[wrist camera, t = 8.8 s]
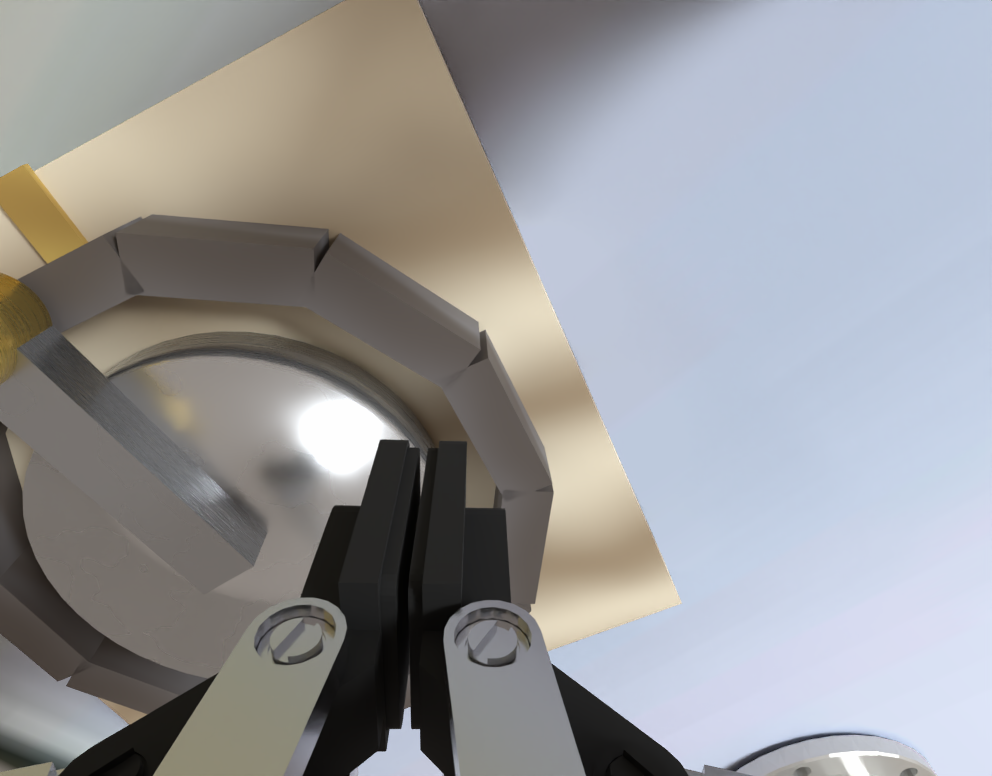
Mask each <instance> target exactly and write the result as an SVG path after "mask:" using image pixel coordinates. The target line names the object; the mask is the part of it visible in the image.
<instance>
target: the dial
mask: <svg viewBox="0 0 992 776" xmlns="http://www.w3.org/2000/svg"><path fill="white" fill-rule="evenodd" d="M0 421H1V422H2V423H3V424H4V425H5V426H7V427H8V428H9V429H10V430H11V431H12V432H14V433H15V434H16V435H17V436H18V437H19V438H21V439H22V440H23V441H24V442H25V443H26V444H28V445H29V446H30V447H31V448H32V449H34V451H33V454H32V456H31V459H30V462H29V465H28V467H27V470H26V474H25V481H24V487H23V517H24V522H25V527H26V531H27V536H28V539H29V542H30V544H31V547H32V550H33V552H34V555H35V557H36V559H37V561H38V563H39V565H40V567H41V568H42V570H43V572H44V574H45V575H46V577H47V579H48V580H49V581H50V583H51V584H52V585H53V587H54V588H55V589H56V591H57V592H58V593H59V595H60V596H61V597H62V598H63V599H64V600H65V601H66V602H67V604H68V605H69V606H70V607H71V608H72V609H73V610H74V611H75V612H76V613H77V614H78V615H79V616H81V617H82V618H83V619H84V620H85V621H87V622H88V623H89V624H90V625H91V626H93V627H94V628H95V629H96V630H98V631H99V632H100V633H102V634H103V635H105V636H106V637H108V638H109V639H111V640H112V641H114V642H115V643H117V644H119V645H120V646H122V647H124V648H126V649H128V650H130V651H132V652H133V653H135V654H137V655H139V656H141V657H144V658H146V659H148V660H151V661H153V662H155V663H158V664H160V665H162V666H165V667H168V668H171V669H174V670H177V671H180V672H184V673H187V674H191V675H195V676H200V677H204V678H210V677H212V676H214V675H215V674H217V673H219V671H220V670H221V668H222V667H223V665H224V664H225V662H226V661H227V659H228V657H229V656H230V654H231V653H232V651H233V650H234V648H235V646H236V645H237V643H238V642H239V640H240V639H241V637H242V635H243V634H244V632H245V631H246V629H247V628H248V626H249V625H250V624H251V623H252V622H253V621H254V619H255V618H256V617H257V616H258V615H260V614H261V613H262V612H264V611H265V610H267V609H268V608H269V607H271V606H274V605H276V604H278V603H281V602H283V601H286V600H291V599H296V598H300V596H301V593H302V590H303V588H304V585H305V582H306V579H307V577H308V574H309V571H310V568H311V565H312V563H313V560H314V557H315V554H316V552H317V549H318V546H319V543H320V540H321V538H322V535H323V532H324V529H325V527H326V524H327V521H328V518H329V515H330V513H331V510H332V508H333V507H334V506H335V505H353V506H361V503H362V499H363V496H364V493H365V489H366V486H367V482H368V479H369V475H370V472H371V469H372V465H373V462H374V458H375V455H376V451H377V448H378V445H379V441H380V440H381V439H387V440H409V443H410V447H415V448H420V482H421V492H422V485H423V478H424V472H425V465H426V458H427V451H428V448H435V446H434V444H433V442H432V440H431V438H430V436H429V434H428V432H427V431H426V429H425V428H424V427H423V425H422V424H421V422H420V421H419V419H418V418H417V416H416V415H415V414H414V413H413V412H412V411H411V409H410V408H409V407H408V406H407V405H406V404H405V403H404V402H403V401H402V400H401V398H400V397H399V396H397V395H396V394H395V393H394V392H393V391H392V390H390V389H389V388H388V387H387V386H386V385H385V384H383V383H382V382H381V381H380V380H379V379H377V378H376V377H374V376H373V375H371V374H370V373H368V372H366V371H365V370H363V369H362V368H360V367H359V366H357V365H356V364H354V363H352V362H350V361H348V360H346V359H344V358H342V357H340V356H338V355H336V354H334V353H332V352H329V351H327V350H324V349H321V348H319V347H316V346H313V345H311V344H308V343H305V342H301V341H297V340H293V339H289V338H285V337H281V336H277V335H269V334H261V333H254V332H223V331H219V332H210V333H201V334H192V335H188V336H183V337H179V338H175V339H171V340H167V341H164V342H161V343H159V344H156V345H153V346H151V347H148V348H146V349H143V350H141V351H139V352H137V353H136V354H134V355H132V356H130V357H129V358H127V359H125V360H123V361H122V362H120V363H118V364H117V365H116V366H115V367H113V368H112V369H111V370H110V371H108V372H107V373H106V374H105V375H103V374H102V373H101V372H100V371H99V370H98V369H97V368H96V367H95V366H94V365H93V364H92V363H91V362H90V361H89V360H88V359H87V358H86V357H85V356H84V355H83V354H82V353H81V352H80V351H79V350H78V349H76V348H75V347H74V346H73V345H72V344H71V343H70V342H69V341H68V340H67V339H66V338H65V337H64V336H63V335H62V334H61V333H60V332H59V331H58V330H57V329H56V328H55V327H54V326H53V325H52V321H51V317H50V315H49V312H48V310H47V309H46V307H45V305H44V304H43V302H42V301H41V300H40V298H39V297H38V296H37V295H36V294H35V293H34V292H33V291H32V290H31V289H30V288H28V287H27V286H26V285H24V284H23V283H22V282H20V281H18V280H16V279H15V278H13V277H10V276H8V275H6V274H3V273H0Z"/></svg>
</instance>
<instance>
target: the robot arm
mask: <svg viewBox="0 0 992 776" xmlns="http://www.w3.org/2000/svg"><path fill="white" fill-rule="evenodd" d="M466 469H467V441H439V448H428V451H427V458H426V465H425V472H424V478H423V485H422V492H421V482H420V448H415V447H410V443H409V440H387V439H381V440H380V441H379V445H378V448H377V451H376V455H375V458H374V462H373V465H372V469H371V472H370V475H369V479H368V482H367V486H366V489H365V493H364V496H363V499H362V503H361V506H353V505H335V506H334V507H333V508H332V510H331V513H330V515H329V518H328V521H327V524H326V527H325V529H324V532H323V535H322V538H321V540H320V543H319V546H318V549H317V552H316V554H315V557H314V560H313V563H312V565H311V568H310V571H309V574H308V577H307V579H306V582H305V585H304V588H303V590H302V593H301V596H300V598H296V599H291V600H286V601H283V602H281V603H278V604H276V605H274V606H271V607H269V608H268V609H267V610H265V611H264V612H262V613H261V614H260V615H258V616H257V617H256V618H255V619H254V621H253V622H252V623H251V624H250V625H249V626H248V628H247V629H246V631H245V632H244V634H243V635H242V637H241V639H240V640H239V642H238V643H237V645H236V646H235V648H234V650H233V651H232V653H231V654H230V656H229V657H228V659H227V661H226V662H225V664H224V665H223V667H222V668H221V670H220V671H219V673H217V674H215V675H214V676H212V677H210V678H208V679H207V680H205V681H203V682H202V683H200V684H198V685H197V686H195V687H193V688H191V689H190V690H188V691H186V692H185V693H183V694H181V695H179V696H178V697H176V698H174V699H173V700H171V701H169V702H168V703H166V704H164V705H162V706H161V707H159V708H157V709H156V710H154V711H152V712H151V713H149V714H147V715H145V716H144V717H142V718H140V719H139V720H137V721H135V722H133V723H132V724H130V725H128V726H127V727H125V728H123V729H122V730H120V731H118V732H116V733H115V734H113V735H111V736H110V737H108V738H106V739H105V740H103V741H101V742H99V743H98V744H96V745H94V746H93V747H91V748H90V749H88V750H87V751H85V752H84V753H83V754H81V755H80V756H78V757H77V758H76V759H74V760H73V761H72V762H71V763H70V764H69V765H68V766H67V767H66V768H65V769H60V770H56V769H55V767H54V764H53V762H49V763H44V764H39V765H34V766H29V767H23V768H18V769H13V770H8V771H3V772H0V776H358V766H359V765H361V764H362V763H363V762H364V761H366V760H367V759H368V758H369V757H371V756H372V755H373V754H374V753H375V752H377V751H386V749H387V742H388V735H389V729H401V727H402V721H403V714H404V706H405V698H406V689H407V681H408V673H409V665H410V698H411V728H412V729H420V745H421V751H422V752H423V753H424V754H425V755H426V756H427V757H428V758H429V759H430V760H431V761H432V762H433V763H434V764H435V765H436V766H437V767H438V768H439V769H440V771H441V772H442V773H443V776H937V774H936V773H935V771H934V770H933V768H932V767H931V766H930V764H929V763H928V761H927V760H926V758H924V757H923V756H922V755H921V754H919V753H918V752H917V751H916V750H914V749H913V748H911V747H908V746H906V745H904V744H902V743H900V742H897V741H893V740H889V739H885V738H881V737H877V736H865V735H839V736H828V737H822V738H816V739H810V740H805V741H802V742H798V743H795V744H791V745H788V746H784V747H782V748H779V749H777V750H774V751H772V752H769V753H767V754H764V755H762V756H760V757H758V758H756V759H755V760H753V761H751V762H749V763H747V764H746V765H744V766H742V767H741V768H739V769H738V770H737V771H730V770H726V769H721V768H717V767H713V766H708V765H704V767H703V771H702V773H701V772H696V771H692V770H688V769H684V768H683V766H682V764H681V763H680V762H679V761H678V760H677V759H676V758H675V757H674V756H673V755H672V754H671V753H670V752H668V751H667V750H666V749H665V748H664V747H662V746H661V745H660V744H658V743H657V742H656V741H654V740H653V739H652V738H650V737H649V736H648V735H646V734H645V733H644V732H642V731H641V730H640V729H638V728H637V727H636V726H634V725H633V724H632V723H630V722H629V721H628V720H626V719H625V718H624V717H622V716H621V715H620V714H618V713H617V712H616V711H614V710H613V709H612V708H610V707H609V706H608V705H606V704H605V703H604V702H602V701H601V700H600V699H598V698H597V697H596V696H594V695H593V694H592V693H590V692H589V691H588V690H586V689H585V688H584V687H582V686H581V685H580V684H578V683H577V682H576V681H574V680H573V679H572V678H570V677H569V676H568V675H566V674H565V673H564V672H562V671H561V670H560V669H558V668H557V667H556V666H554V665H553V664H552V663H551V661H550V658H549V655H548V651H547V648H546V645H545V642H544V638H543V635H542V632H541V629H540V628H539V626H538V624H537V622H536V620H535V619H534V618H533V617H532V616H531V615H530V614H529V613H528V612H527V611H526V610H524V609H522V608H520V607H518V606H517V605H515V604H512V603H511V591H510V575H509V558H508V542H507V525H506V511H505V508H466Z"/></svg>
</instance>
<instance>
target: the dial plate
mask: <svg viewBox="0 0 992 776" xmlns="http://www.w3.org/2000/svg"><path fill="white" fill-rule="evenodd" d="M0 273H3V274H6V275H8V276H10V277H13V278H15V279H16V280H18V281H20V282H22V283H23V284H24V285H26V286H27V287H28V288H30V289H31V290H32V291H33V292H34V293H35V294H36V295H37V296H38V297H39V298H40V300H41V301H42V302H43V304H44V305H45V307H46V309H47V310H48V312H49V315H50V317H51V321H52V325H53V326H54V327H55V328H56V329H57V330H58V331H59V332H60V333H61V334H62V335H63V336H64V337H65V338H66V339H67V340H68V341H69V342H70V343H71V344H72V345H73V346H74V347H75V348H76V349H78V350H79V351H80V352H81V353H82V354H83V355H84V356H85V357H86V358H87V359H88V360H89V361H90V362H91V363H92V364H93V365H94V366H95V367H96V368H97V369H98V370H99V371H100V372H101V373H102V374H103V375H105V374H106V373H107V372H108V371H110V370H111V369H112V368H113V367H115V366H116V365H117V364H118V363H120V362H122V361H123V360H125V359H127V358H129V357H130V356H132V355H134V354H136V353H137V352H139V351H141V350H143V349H146V348H148V347H151V346H153V345H156V344H159V343H161V342H164V341H167V340H171V339H175V338H179V337H183V336H188V335H192V334H201V333H210V332H219V331H223V332H254V333H261V334H269V335H277V336H281V337H285V338H289V339H293V340H297V341H301V342H305V343H308V344H311V345H313V346H316V347H319V348H321V349H324V350H327V351H329V352H332V353H334V354H336V355H338V356H340V357H342V358H344V359H346V360H348V361H350V362H352V363H354V364H356V365H357V366H359V367H360V368H362V369H363V370H365V371H366V372H368V373H370V374H371V375H373V376H374V377H376V378H377V379H379V380H380V381H381V382H382V383H383V384H385V385H386V386H387V387H388V388H389V389H390V390H392V391H393V392H394V393H395V394H396V395H397V396H399V397H400V398H401V400H402V401H403V402H404V403H405V404H406V405H407V406H408V407H409V408H410V409H411V411H412V412H413V413H414V414H415V415H416V416H417V418H418V419H419V421H420V422H421V424H422V425H423V427H424V428H425V429H426V431H427V432H428V434H429V436H430V438H431V440H432V442H433V444H434V446H435V448H439V441H467V469H466V508H505V511H506V525H507V542H508V558H509V575H510V591H511V603H512V604H515V605H517V606H518V607H520V608H522V609H524V610H526V611H527V612H528V613H529V614H530V615H531V616H532V617H533V618H534V619H535V620H536V622H537V624H538V626H539V628H540V629H541V632H542V635H543V638H544V642H545V645H546V648H547V651H550V650H553V649H556V648H558V647H561V646H564V645H567V644H570V643H572V642H575V641H578V640H581V639H583V638H586V637H589V636H592V635H595V634H597V633H600V632H603V631H606V630H609V629H611V628H614V627H617V626H620V625H623V624H625V623H628V622H631V621H634V620H637V619H639V618H642V617H645V616H648V615H651V614H653V613H656V612H659V611H662V610H665V609H667V608H670V607H673V606H676V605H679V604H681V600H680V598H679V596H678V593H677V591H676V588H675V586H674V583H673V581H672V579H671V576H670V574H669V571H668V569H667V566H666V564H665V562H664V560H663V557H662V555H661V553H660V550H659V548H658V546H657V544H656V541H655V539H654V537H653V534H652V532H651V530H650V528H649V525H648V523H647V521H646V519H645V516H644V514H643V512H642V509H641V507H640V505H639V503H638V500H637V498H636V496H635V493H634V491H633V489H632V487H631V484H630V482H629V480H628V477H627V475H626V473H625V471H624V468H623V466H622V464H621V462H620V459H619V457H618V455H617V452H616V450H615V448H614V446H613V443H612V441H611V439H610V436H609V434H608V432H607V430H606V427H605V425H604V423H603V421H602V418H601V416H600V414H599V411H598V409H597V407H596V405H595V402H594V400H593V398H592V395H591V393H590V391H589V389H588V386H587V384H586V382H585V379H584V377H583V375H582V373H581V370H580V368H579V366H578V364H577V361H576V359H575V357H574V354H573V352H572V350H571V348H570V345H569V343H568V341H567V338H566V336H565V334H564V332H563V329H562V327H561V325H560V323H559V320H558V318H557V316H556V313H555V311H554V309H553V307H552V304H551V302H550V300H549V297H548V295H547V293H546V291H545V288H544V286H543V284H542V281H541V279H540V277H539V275H538V272H537V270H536V268H535V266H534V263H533V261H532V259H531V256H530V254H529V252H528V250H527V247H526V245H525V243H524V240H523V238H522V236H521V234H520V231H519V229H518V227H517V224H516V222H515V220H514V218H513V215H512V213H511V211H510V209H509V206H508V204H507V202H506V199H505V197H504V195H503V193H502V190H501V188H500V186H499V183H498V181H497V179H496V177H495V174H494V172H493V170H492V168H491V165H490V163H489V161H488V158H487V156H486V154H485V152H484V149H483V147H482V145H481V142H480V140H479V138H478V136H477V133H476V131H475V129H474V126H473V124H472V122H471V120H470V117H469V115H468V113H467V111H466V108H465V106H464V104H463V101H462V99H461V97H460V95H459V92H458V90H457V88H456V85H455V83H454V81H453V79H452V76H451V74H450V72H449V70H448V67H447V65H446V63H445V60H444V58H443V56H442V54H441V51H440V49H439V47H438V44H437V42H436V40H435V38H434V35H433V33H432V31H431V28H430V26H429V24H428V22H427V19H426V17H425V15H424V13H423V10H422V8H421V6H420V3H419V1H418V0H345V1H343V2H341V3H339V4H337V5H335V6H334V7H332V8H330V9H328V10H326V11H325V12H323V13H321V14H319V15H317V16H315V17H314V18H312V19H310V20H308V21H306V22H305V23H303V24H301V25H299V26H297V27H295V28H294V29H292V30H290V31H288V32H286V33H285V34H283V35H281V36H279V37H277V38H275V39H274V40H272V41H270V42H268V43H266V44H265V45H263V46H261V47H259V48H257V49H255V50H254V51H252V52H250V53H248V54H246V55H245V56H243V57H241V58H239V59H237V60H235V61H234V62H232V63H230V64H228V65H226V66H225V67H223V68H221V69H219V70H217V71H215V72H214V73H212V74H210V75H208V76H206V77H205V78H203V79H201V80H199V81H197V82H195V83H194V84H192V85H190V86H188V87H186V88H185V89H183V90H181V91H179V92H177V93H175V94H174V95H172V96H170V97H168V98H166V99H165V100H163V101H161V102H159V103H157V104H155V105H154V106H152V107H150V108H148V109H146V110H145V111H143V112H141V113H139V114H137V115H135V116H134V117H132V118H130V119H128V120H126V121H125V122H123V123H121V124H119V125H117V126H115V127H114V128H112V129H110V130H108V131H106V132H105V133H103V134H101V135H99V136H97V137H95V138H94V139H92V140H90V141H88V142H86V143H85V144H83V145H81V146H79V147H77V148H75V149H74V150H72V151H70V152H68V153H66V154H65V155H63V156H61V157H59V158H57V159H55V160H54V161H52V162H50V163H48V164H46V165H45V166H43V167H41V168H39V169H37V170H35V171H33V170H32V169H31V167H30V166H29V165H28V164H25V165H22V166H20V167H18V168H17V169H15V170H13V171H11V172H9V173H8V174H6V175H4V176H2V177H0ZM33 451H34V449H32V448H31V447H30V446H29V445H28V444H26V443H25V442H24V441H23V440H22V439H21V438H19V437H18V436H17V435H16V434H15V433H14V432H12V431H11V430H10V429H9V428H8V427H7V426H5V425H4V424H3V423H2V422H1V421H0V634H2V635H3V636H4V637H5V638H6V639H8V640H9V641H10V642H11V643H12V644H14V645H15V646H16V647H17V648H18V649H20V650H21V651H22V652H23V653H24V654H26V655H27V656H28V657H29V658H30V659H32V660H33V661H34V662H35V663H36V664H37V665H39V666H40V667H41V668H42V669H43V670H45V671H46V672H47V673H48V674H49V675H51V676H52V677H53V678H54V679H55V680H57V681H60V680H62V679H65V678H67V677H70V676H72V677H71V678H70V680H69V682H68V683H67V685H66V686H67V687H70V688H73V689H76V690H79V691H82V692H85V693H88V694H90V695H93V696H96V697H98V698H99V699H100V700H101V701H103V702H104V703H105V704H106V705H107V706H108V707H110V708H111V709H112V710H113V711H114V712H115V713H117V714H118V715H119V716H120V717H121V718H122V719H124V720H125V721H126V722H127V723H128V724H129V725H130V724H132V723H133V722H135V721H137V720H139V719H140V718H142V717H144V716H145V715H147V714H149V713H151V712H152V711H154V710H156V709H157V708H159V707H161V706H162V705H164V704H166V703H168V702H169V701H171V700H173V699H174V698H176V697H178V696H179V695H181V694H183V693H185V692H186V691H188V690H190V689H191V688H193V687H195V686H197V685H198V684H200V683H202V682H203V681H205V680H207V679H208V678H204V677H200V676H195V675H191V674H187V673H184V672H180V671H177V670H174V669H171V668H168V667H165V666H162V665H160V664H158V663H155V662H153V661H151V660H148V659H146V658H144V657H141V656H139V655H137V654H135V653H133V652H132V651H130V650H128V649H126V648H124V647H122V646H120V645H119V644H117V643H115V642H114V641H112V640H111V639H109V638H108V637H106V636H105V635H103V634H102V633H100V632H99V631H98V630H96V629H95V628H94V627H93V626H91V625H90V624H89V623H88V622H87V621H85V620H84V619H83V618H82V617H81V616H79V615H78V614H77V613H76V612H75V611H74V610H73V609H72V608H71V607H70V606H69V605H68V604H67V602H66V601H65V600H64V599H63V598H62V597H61V596H60V595H59V593H58V592H57V591H56V589H55V588H54V587H53V585H52V584H51V583H50V581H49V580H48V579H47V577H46V575H45V574H44V572H43V570H42V568H41V567H40V565H39V563H38V561H37V559H36V557H35V555H34V552H33V550H32V547H31V544H30V542H29V539H28V536H27V531H26V527H25V522H24V517H23V487H24V481H25V474H26V470H27V467H28V465H29V462H30V459H31V456H32V454H33ZM408 707H411V698H410V665H409V673H408V681H407V689H406V698H405V706H404V709H406V708H408Z"/></svg>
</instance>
